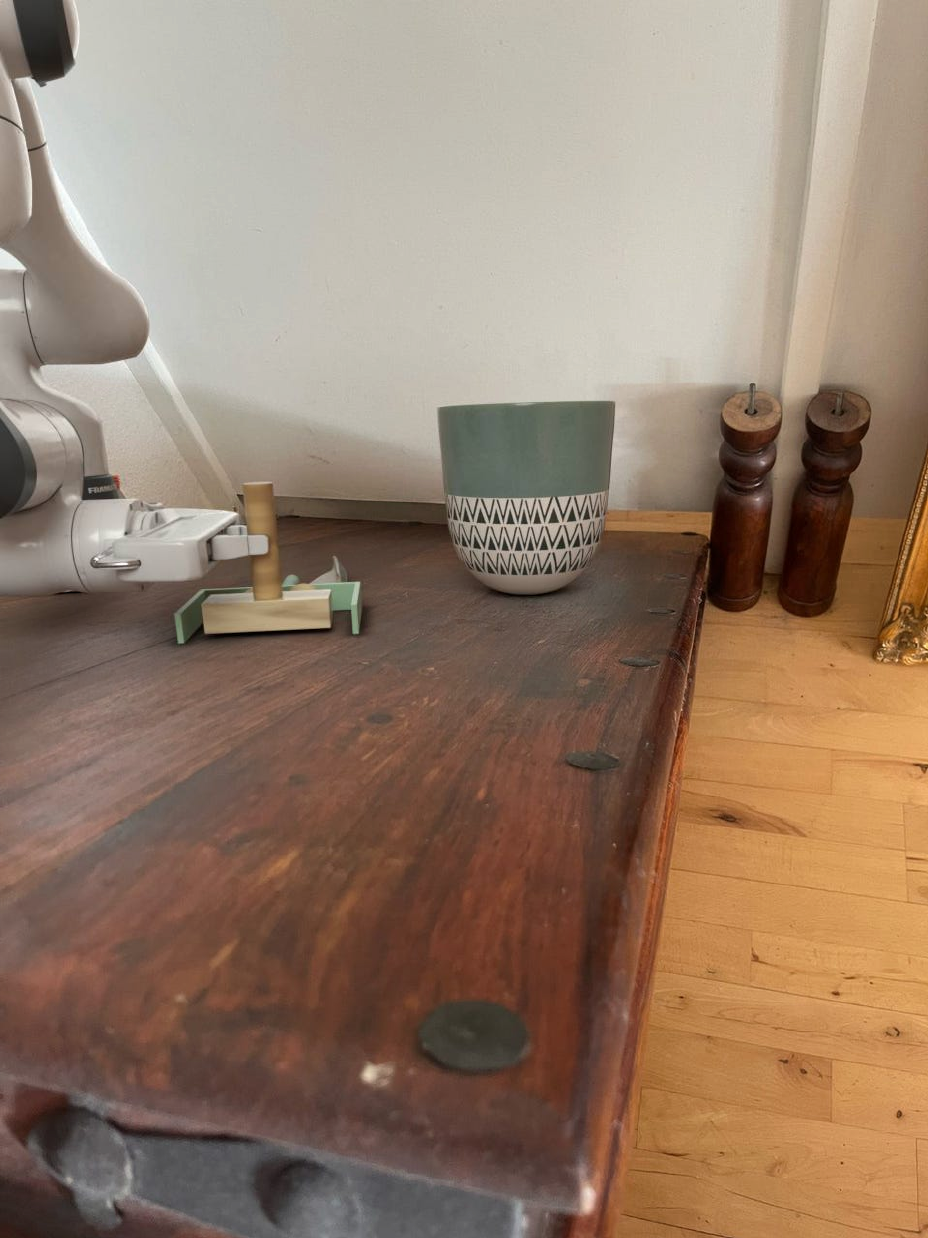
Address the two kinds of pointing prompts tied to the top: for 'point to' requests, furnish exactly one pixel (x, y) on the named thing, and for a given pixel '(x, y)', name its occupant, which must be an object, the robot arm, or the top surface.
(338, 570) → the ceramic fragment
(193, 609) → the dustpan
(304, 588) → the cork ball
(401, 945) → the top surface
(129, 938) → the top surface
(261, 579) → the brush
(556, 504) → the planter
